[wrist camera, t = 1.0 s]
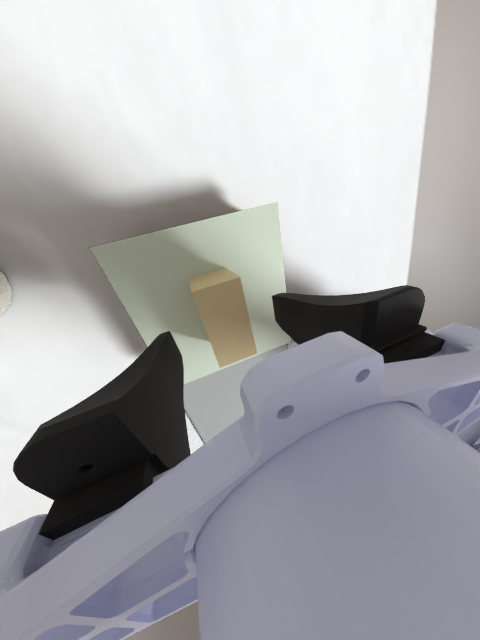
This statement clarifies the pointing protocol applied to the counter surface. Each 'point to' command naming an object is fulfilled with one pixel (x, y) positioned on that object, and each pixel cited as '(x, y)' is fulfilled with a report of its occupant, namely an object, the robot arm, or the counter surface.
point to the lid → (204, 286)
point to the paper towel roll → (4, 293)
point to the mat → (219, 396)
